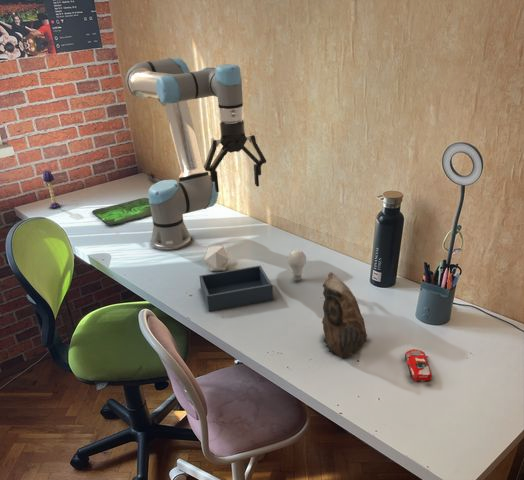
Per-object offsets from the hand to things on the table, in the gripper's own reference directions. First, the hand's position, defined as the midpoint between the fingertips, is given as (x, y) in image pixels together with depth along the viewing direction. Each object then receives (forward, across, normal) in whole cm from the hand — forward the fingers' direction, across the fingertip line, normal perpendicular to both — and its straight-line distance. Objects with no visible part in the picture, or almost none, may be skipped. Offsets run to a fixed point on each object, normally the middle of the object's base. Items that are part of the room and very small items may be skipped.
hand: (237, 188), depth 187 cm
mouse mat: (+29, -36, +69) cm, 83 cm away
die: (+29, -9, +1) cm, 30 cm away
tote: (+29, -7, -20) cm, 35 cm away
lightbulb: (+29, +15, -17) cm, 37 cm away
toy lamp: (+29, -68, +89) cm, 116 cm away
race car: (+29, +30, -75) cm, 86 cm away
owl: (+29, +16, -58) cm, 67 cm away
